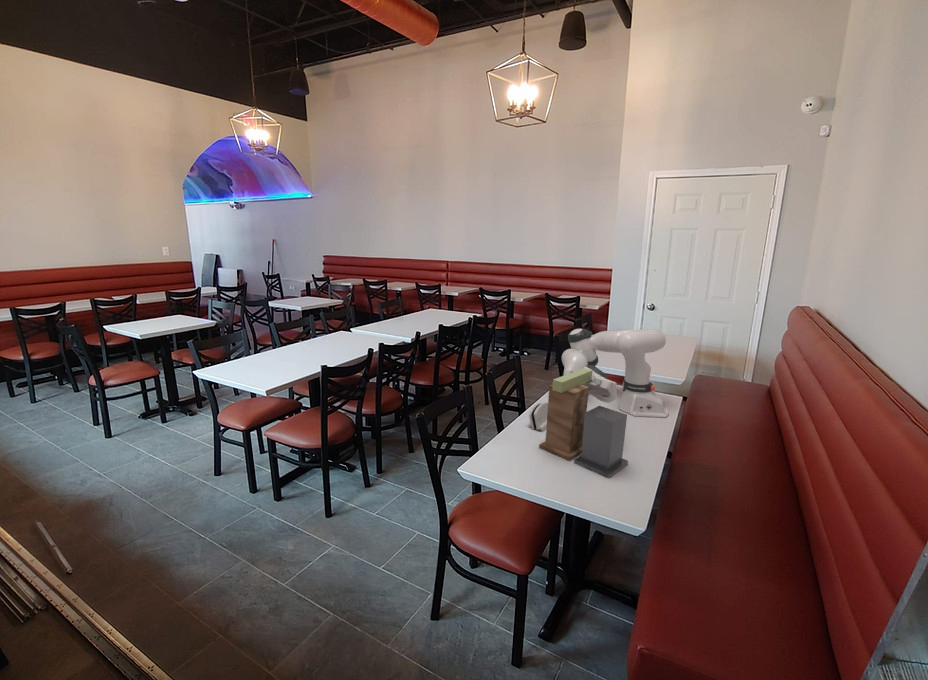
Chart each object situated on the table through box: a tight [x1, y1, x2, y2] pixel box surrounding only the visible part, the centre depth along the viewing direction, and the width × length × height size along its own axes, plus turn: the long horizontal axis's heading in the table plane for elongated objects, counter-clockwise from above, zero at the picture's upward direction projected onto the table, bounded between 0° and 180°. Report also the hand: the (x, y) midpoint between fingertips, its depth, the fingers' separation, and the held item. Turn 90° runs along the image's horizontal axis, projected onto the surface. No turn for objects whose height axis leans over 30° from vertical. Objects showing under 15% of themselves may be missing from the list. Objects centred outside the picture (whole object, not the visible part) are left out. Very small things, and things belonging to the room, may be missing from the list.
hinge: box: [528, 402, 548, 433], centre depth 197 cm, size 17×5×10 cm, turn 146°
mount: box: [573, 405, 629, 479], centre depth 162 cm, size 14×14×20 cm
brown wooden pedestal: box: [538, 383, 589, 462], centre depth 173 cm, size 14×14×26 cm
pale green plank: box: [552, 368, 593, 393], centre depth 171 cm, size 21×4×4 cm, turn 134°
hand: (581, 375), depth 175 cm, fingers open, 8 cm apart
